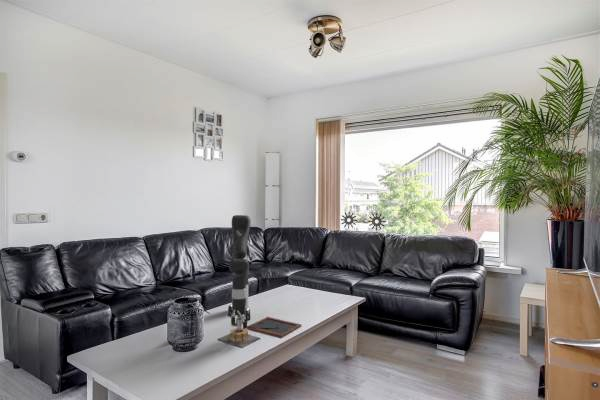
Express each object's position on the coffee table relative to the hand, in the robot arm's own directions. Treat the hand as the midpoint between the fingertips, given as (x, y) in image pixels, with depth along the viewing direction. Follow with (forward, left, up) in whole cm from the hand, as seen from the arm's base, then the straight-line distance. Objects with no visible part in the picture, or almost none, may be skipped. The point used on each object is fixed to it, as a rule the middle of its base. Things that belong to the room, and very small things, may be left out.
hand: (239, 326), depth 186 cm
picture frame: (+5, +24, -7) cm, 26 cm away
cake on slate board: (0, 0, -7) cm, 7 cm away
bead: (-16, +17, -7) cm, 24 cm away
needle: (0, 0, -6) cm, 6 cm away
